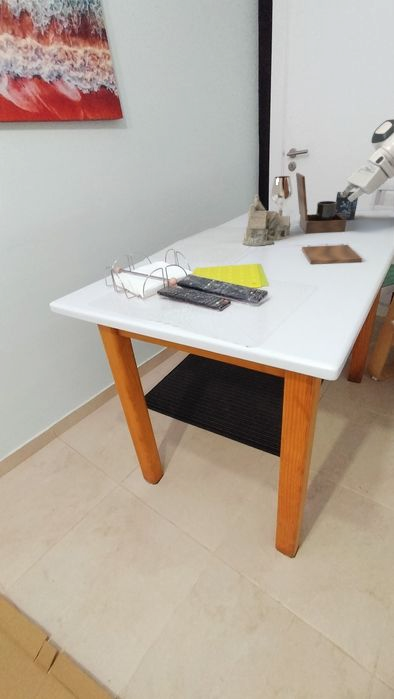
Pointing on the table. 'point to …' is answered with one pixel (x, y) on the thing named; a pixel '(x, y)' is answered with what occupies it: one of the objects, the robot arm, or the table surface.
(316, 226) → the bread box
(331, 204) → the dark grey cup
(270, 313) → the table surface
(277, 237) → the ceramic cottage
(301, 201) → the bread box lid
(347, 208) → the box
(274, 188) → the wineglass
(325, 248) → the board
